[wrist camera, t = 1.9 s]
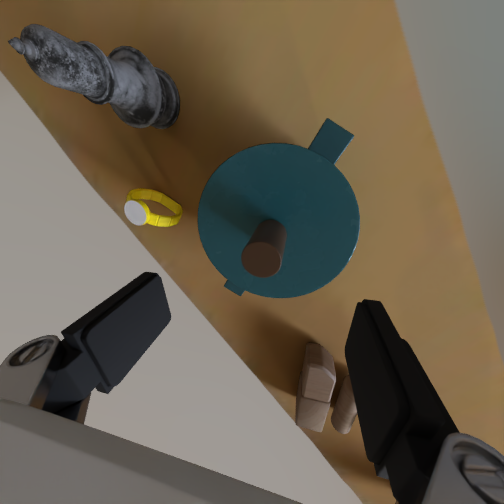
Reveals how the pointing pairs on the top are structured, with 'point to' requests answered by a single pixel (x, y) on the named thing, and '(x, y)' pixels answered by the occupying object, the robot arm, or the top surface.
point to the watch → (142, 214)
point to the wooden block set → (322, 393)
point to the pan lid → (278, 220)
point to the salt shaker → (102, 76)
